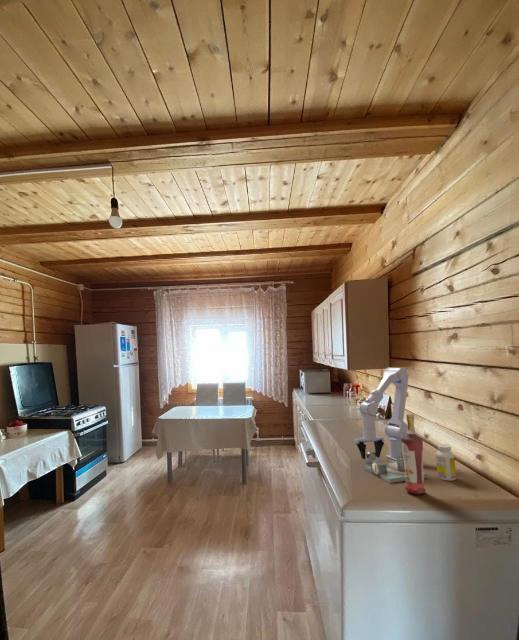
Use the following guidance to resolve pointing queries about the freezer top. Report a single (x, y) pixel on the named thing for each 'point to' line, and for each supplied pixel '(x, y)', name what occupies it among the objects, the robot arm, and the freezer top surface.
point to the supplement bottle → (445, 463)
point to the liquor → (413, 459)
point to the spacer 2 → (400, 464)
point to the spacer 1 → (370, 457)
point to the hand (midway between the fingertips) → (370, 457)
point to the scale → (387, 471)
